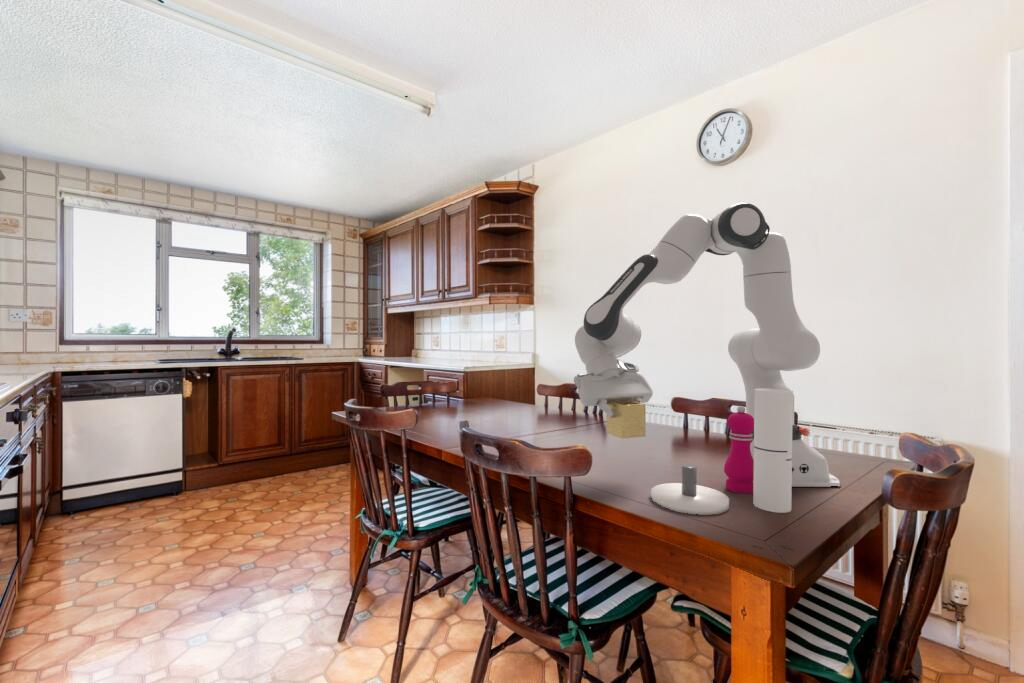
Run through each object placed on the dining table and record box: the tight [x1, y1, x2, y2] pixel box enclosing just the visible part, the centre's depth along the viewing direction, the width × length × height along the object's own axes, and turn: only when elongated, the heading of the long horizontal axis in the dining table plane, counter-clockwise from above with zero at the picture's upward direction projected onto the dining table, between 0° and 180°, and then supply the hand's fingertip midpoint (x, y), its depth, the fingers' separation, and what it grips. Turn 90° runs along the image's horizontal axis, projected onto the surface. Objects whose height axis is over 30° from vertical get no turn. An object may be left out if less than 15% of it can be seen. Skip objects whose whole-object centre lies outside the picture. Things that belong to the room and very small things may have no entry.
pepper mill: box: [723, 405, 754, 494], centre depth 110 cm, size 7×7×20 cm
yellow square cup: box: [606, 401, 646, 440], centre depth 116 cm, size 7×7×8 cm
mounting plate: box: [650, 464, 730, 516], centre depth 102 cm, size 16×16×8 cm
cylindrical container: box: [752, 388, 794, 514], centre depth 99 cm, size 7×7×25 cm
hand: (627, 415), depth 115 cm, fingers closed on yellow square cup, 7 cm apart
